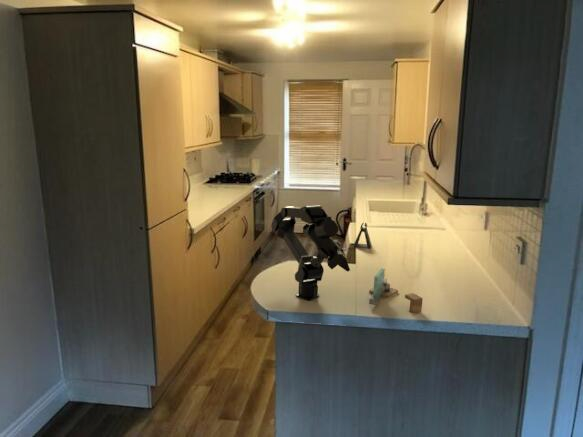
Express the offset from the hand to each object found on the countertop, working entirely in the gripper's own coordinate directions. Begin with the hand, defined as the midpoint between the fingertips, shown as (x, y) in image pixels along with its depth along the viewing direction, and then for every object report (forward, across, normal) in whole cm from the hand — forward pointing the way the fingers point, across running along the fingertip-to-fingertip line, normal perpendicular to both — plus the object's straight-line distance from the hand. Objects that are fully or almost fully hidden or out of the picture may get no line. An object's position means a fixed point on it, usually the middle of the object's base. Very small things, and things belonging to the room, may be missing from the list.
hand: (348, 270), depth 163 cm
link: (+16, -2, +2) cm, 16 cm away
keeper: (+23, +6, +9) cm, 26 cm away
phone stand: (+20, -73, +4) cm, 76 cm away
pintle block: (+19, -9, +3) cm, 21 cm away
